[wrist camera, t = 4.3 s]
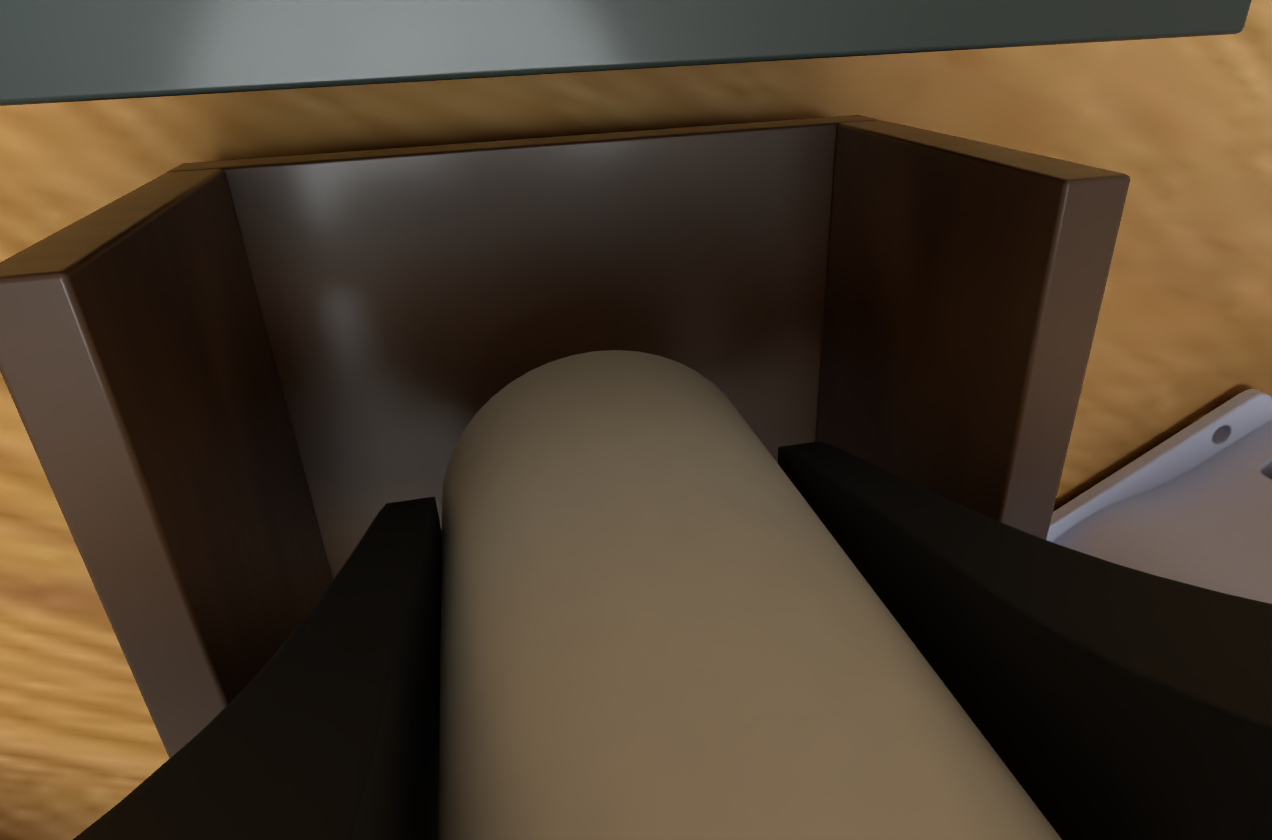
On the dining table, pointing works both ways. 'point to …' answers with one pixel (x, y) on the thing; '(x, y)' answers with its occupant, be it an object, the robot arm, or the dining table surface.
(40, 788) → the dining table surface
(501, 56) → the drawer
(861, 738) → the candle
